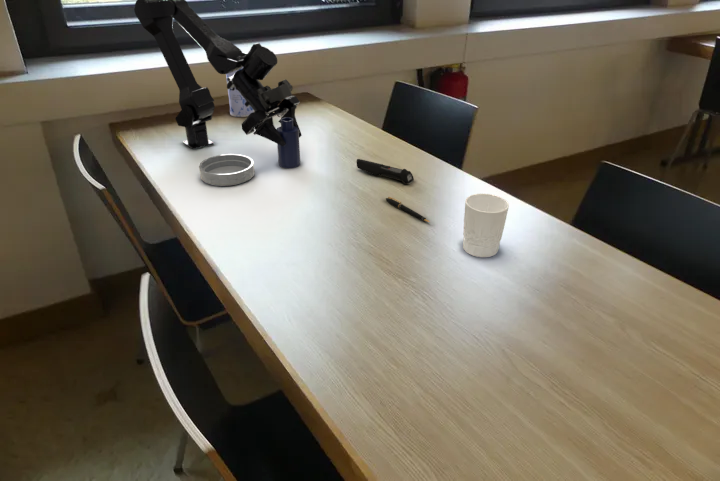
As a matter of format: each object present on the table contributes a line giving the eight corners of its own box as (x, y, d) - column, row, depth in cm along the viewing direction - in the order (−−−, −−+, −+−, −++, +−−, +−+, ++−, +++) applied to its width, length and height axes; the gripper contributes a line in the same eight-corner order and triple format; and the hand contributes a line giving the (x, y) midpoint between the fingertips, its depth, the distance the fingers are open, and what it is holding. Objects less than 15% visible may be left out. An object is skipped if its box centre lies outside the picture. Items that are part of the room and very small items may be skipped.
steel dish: (191, 174, 132) (189, 162, 131) (237, 161, 140) (236, 150, 138) (216, 191, 124) (215, 179, 122) (264, 177, 131) (263, 165, 130)
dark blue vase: (274, 163, 139) (271, 118, 133) (292, 158, 142) (289, 114, 136) (286, 170, 135) (283, 124, 129) (304, 164, 138) (302, 119, 132)
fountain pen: (432, 224, 112) (432, 218, 111) (428, 226, 111) (428, 219, 111) (387, 200, 122) (387, 194, 121) (383, 201, 121) (383, 195, 120)
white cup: (503, 242, 106) (510, 197, 101) (498, 262, 99) (506, 215, 94) (463, 235, 108) (469, 190, 103) (456, 255, 101) (462, 208, 96)
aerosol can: (226, 116, 172) (218, 52, 162) (235, 109, 179) (228, 47, 169) (249, 117, 171) (243, 53, 161) (257, 110, 178) (252, 48, 168)
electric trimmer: (361, 167, 138) (361, 155, 136) (414, 180, 131) (415, 168, 129) (353, 172, 135) (353, 160, 134) (407, 185, 128) (407, 173, 126)
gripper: (246, 79, 121) (290, 134, 122) (291, 63, 135) (330, 112, 137) (223, 108, 128) (264, 159, 130) (268, 90, 142) (305, 136, 144)
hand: (292, 140), depth 135 cm, fingers open, 7 cm apart
